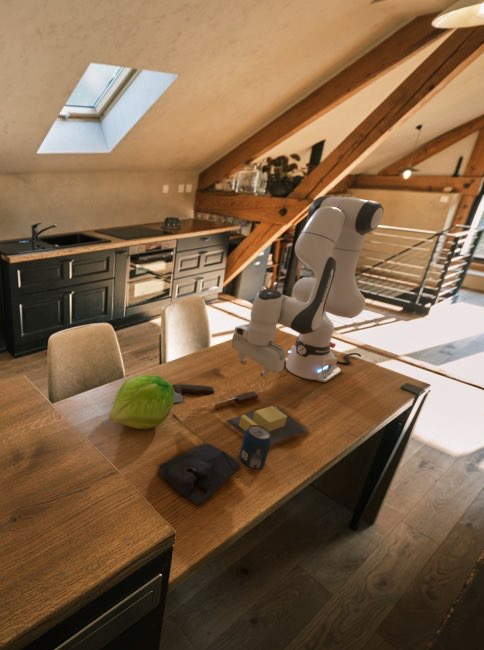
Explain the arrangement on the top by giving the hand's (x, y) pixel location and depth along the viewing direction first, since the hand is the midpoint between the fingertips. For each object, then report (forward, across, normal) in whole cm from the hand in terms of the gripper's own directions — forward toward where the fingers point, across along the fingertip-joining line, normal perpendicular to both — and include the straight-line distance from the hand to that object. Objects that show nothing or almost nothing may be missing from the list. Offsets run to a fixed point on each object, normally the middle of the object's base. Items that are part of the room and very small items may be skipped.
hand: (252, 369), depth 137 cm
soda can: (+12, -24, +24) cm, 36 cm away
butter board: (+12, -15, +7) cm, 21 cm away
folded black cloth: (+12, -22, +40) cm, 47 cm away
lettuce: (+12, +4, +45) cm, 46 cm away
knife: (+12, -2, +7) cm, 14 cm away
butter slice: (+11, -15, +15) cm, 23 cm away
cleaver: (+12, +12, +24) cm, 29 cm away
